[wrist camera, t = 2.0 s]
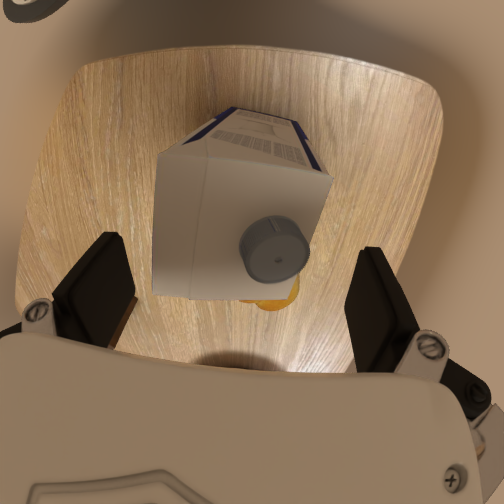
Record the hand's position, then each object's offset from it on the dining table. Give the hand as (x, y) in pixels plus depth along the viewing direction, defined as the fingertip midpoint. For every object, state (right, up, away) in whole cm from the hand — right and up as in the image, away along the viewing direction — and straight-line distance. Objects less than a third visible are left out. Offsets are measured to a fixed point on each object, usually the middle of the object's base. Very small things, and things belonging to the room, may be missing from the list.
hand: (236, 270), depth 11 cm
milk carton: (+1, +12, +17) cm, 21 cm away
